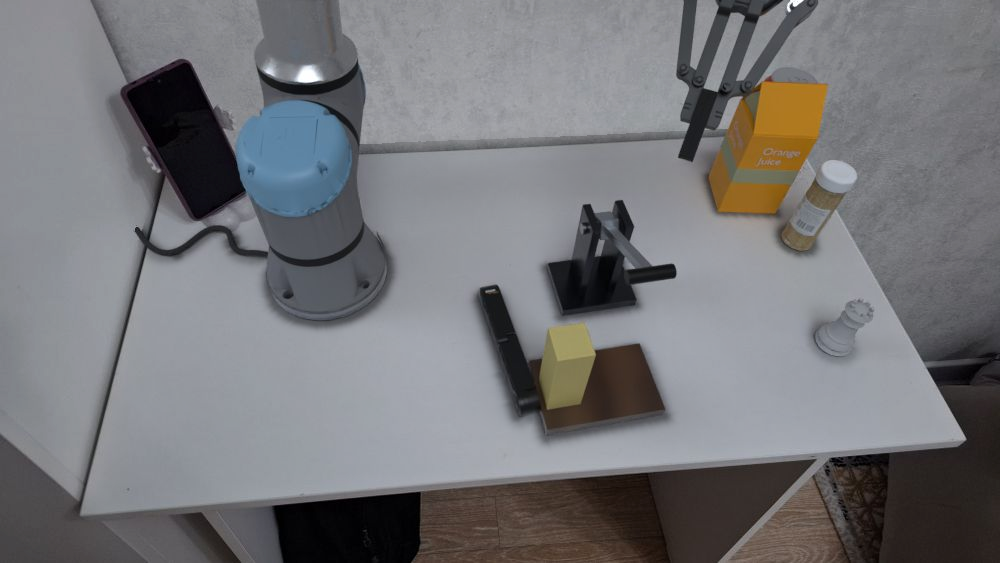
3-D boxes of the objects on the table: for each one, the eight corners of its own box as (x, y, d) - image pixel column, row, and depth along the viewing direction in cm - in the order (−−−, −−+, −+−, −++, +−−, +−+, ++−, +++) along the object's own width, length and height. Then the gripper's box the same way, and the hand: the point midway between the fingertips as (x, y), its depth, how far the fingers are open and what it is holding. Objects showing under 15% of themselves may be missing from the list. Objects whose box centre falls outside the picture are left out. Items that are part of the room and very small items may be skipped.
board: (545, 435, 70) (547, 430, 68) (527, 366, 75) (528, 360, 74) (662, 415, 72) (665, 409, 71) (636, 349, 77) (639, 343, 76)
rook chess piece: (812, 350, 78) (842, 315, 72) (814, 323, 80) (844, 286, 74) (848, 363, 77) (882, 328, 71) (850, 335, 80) (883, 299, 73)
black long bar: (540, 415, 71) (542, 403, 69) (519, 420, 71) (520, 409, 68) (496, 294, 81) (497, 280, 79) (477, 298, 81) (478, 284, 78)
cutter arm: (675, 284, 62) (678, 263, 61) (628, 291, 61) (630, 270, 60) (620, 227, 75) (621, 209, 74) (581, 233, 75) (581, 214, 74)
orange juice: (775, 214, 92) (839, 102, 76) (717, 212, 92) (768, 99, 76) (763, 178, 97) (820, 65, 81) (707, 176, 97) (753, 63, 81)
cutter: (635, 305, 81) (660, 235, 70) (561, 316, 80) (576, 246, 69) (616, 258, 86) (637, 186, 75) (546, 268, 84) (558, 195, 73)
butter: (546, 410, 70) (557, 361, 61) (538, 379, 72) (547, 327, 64) (580, 404, 71) (596, 354, 62) (571, 373, 73) (585, 322, 64)
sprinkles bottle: (818, 243, 89) (866, 174, 78) (797, 256, 87) (843, 187, 77) (793, 223, 91) (836, 153, 81) (773, 236, 90) (814, 166, 79)
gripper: (837, -57, 59) (746, 181, 63) (703, -85, 62) (623, 144, 66) (862, -97, 52) (758, 174, 56) (709, -127, 55) (619, 133, 58)
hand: (685, 158), depth 61 cm, fingers closed
